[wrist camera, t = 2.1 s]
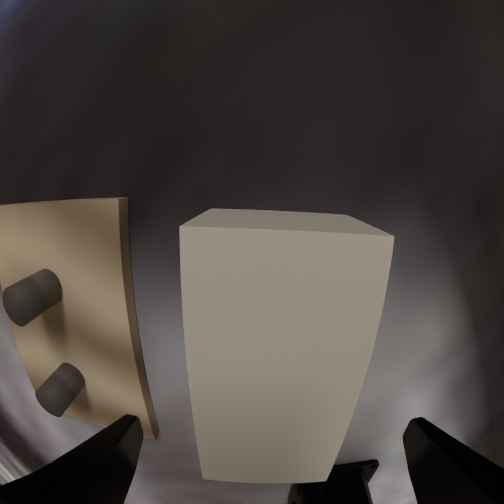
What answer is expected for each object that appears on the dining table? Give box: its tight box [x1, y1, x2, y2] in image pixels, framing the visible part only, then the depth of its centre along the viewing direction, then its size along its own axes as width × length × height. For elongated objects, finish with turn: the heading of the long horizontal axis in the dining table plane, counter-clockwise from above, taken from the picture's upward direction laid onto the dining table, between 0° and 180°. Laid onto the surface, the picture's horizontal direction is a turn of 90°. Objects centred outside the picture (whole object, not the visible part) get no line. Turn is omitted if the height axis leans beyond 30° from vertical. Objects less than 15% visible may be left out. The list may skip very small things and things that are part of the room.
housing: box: [180, 209, 394, 484], centre depth 12 cm, size 12×6×5 cm, turn 178°
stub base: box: [0, 197, 159, 440], centre depth 13 cm, size 15×10×4 cm, turn 178°
